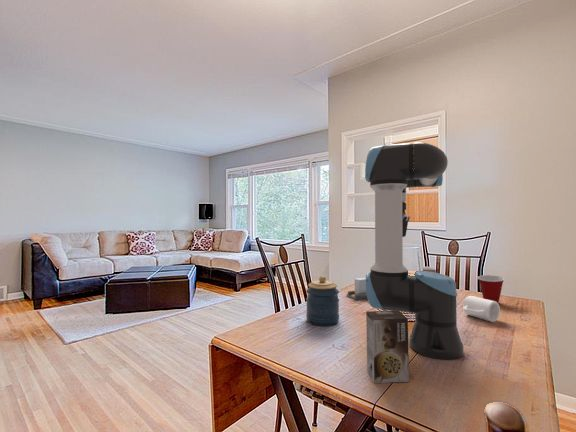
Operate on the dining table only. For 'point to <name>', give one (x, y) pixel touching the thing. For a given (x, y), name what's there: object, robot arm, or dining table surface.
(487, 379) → the dining table surface
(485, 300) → the mug
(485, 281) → the plastic cup
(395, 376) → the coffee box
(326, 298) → the canister
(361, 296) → the grey rectangular tray
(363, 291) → the white rectangular block
